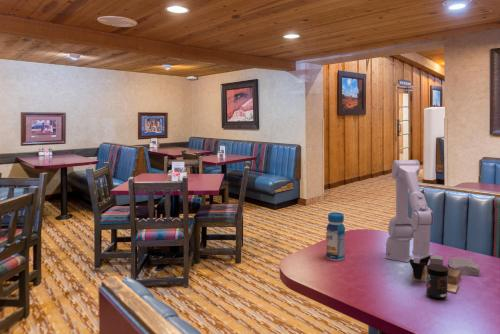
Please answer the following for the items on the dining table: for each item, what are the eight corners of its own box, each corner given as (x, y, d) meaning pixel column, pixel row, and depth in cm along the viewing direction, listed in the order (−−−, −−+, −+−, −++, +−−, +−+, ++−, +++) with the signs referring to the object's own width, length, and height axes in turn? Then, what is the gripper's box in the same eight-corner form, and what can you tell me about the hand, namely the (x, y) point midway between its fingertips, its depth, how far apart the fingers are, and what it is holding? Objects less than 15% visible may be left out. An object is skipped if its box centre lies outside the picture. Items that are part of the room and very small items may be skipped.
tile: (435, 289, 138) (435, 287, 138) (439, 282, 144) (439, 281, 144) (456, 293, 134) (456, 292, 134) (459, 286, 140) (459, 285, 140)
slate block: (430, 270, 156) (430, 258, 155) (429, 266, 160) (429, 254, 159) (442, 271, 154) (443, 259, 153) (441, 267, 158) (441, 255, 157)
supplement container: (435, 290, 137) (436, 262, 136) (451, 298, 131) (453, 269, 130) (421, 294, 135) (422, 265, 133) (437, 302, 129) (438, 272, 127)
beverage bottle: (347, 261, 167) (347, 216, 164) (327, 261, 167) (327, 216, 164) (342, 254, 175) (343, 211, 172) (324, 254, 175) (324, 211, 173)
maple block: (412, 279, 147) (412, 267, 146) (415, 275, 150) (415, 263, 150) (424, 282, 144) (425, 269, 144) (427, 278, 148) (428, 265, 147)
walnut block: (435, 281, 146) (436, 272, 145) (440, 275, 151) (440, 266, 151) (456, 286, 141) (456, 277, 141) (460, 279, 147) (460, 270, 146)
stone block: (455, 279, 150) (482, 276, 148) (452, 268, 150) (480, 264, 148) (445, 269, 162) (471, 265, 160) (443, 258, 162) (469, 254, 160)
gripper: (428, 248, 137) (427, 284, 139) (436, 237, 149) (435, 271, 151) (408, 244, 141) (406, 280, 143) (417, 234, 153) (416, 267, 155)
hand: (420, 275), depth 147 cm, fingers open, 7 cm apart
